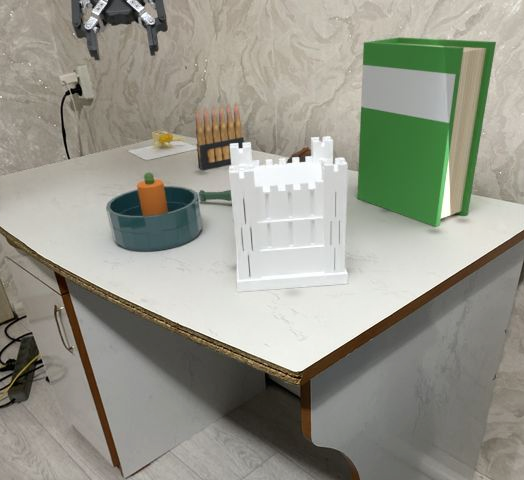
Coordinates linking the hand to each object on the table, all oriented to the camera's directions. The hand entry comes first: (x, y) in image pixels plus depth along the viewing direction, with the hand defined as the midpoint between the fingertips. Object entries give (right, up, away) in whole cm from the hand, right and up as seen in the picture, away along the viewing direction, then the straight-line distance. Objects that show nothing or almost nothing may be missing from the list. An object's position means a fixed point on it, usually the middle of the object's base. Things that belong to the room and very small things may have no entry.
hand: (124, 54), depth 82 cm
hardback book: (+46, -21, +8) cm, 51 cm away
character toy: (-3, +4, +50) cm, 50 cm away
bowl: (+4, -27, +5) cm, 27 cm away
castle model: (+25, -34, -8) cm, 42 cm away
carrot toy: (+4, -26, +4) cm, 27 cm away
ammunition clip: (+12, -5, +35) cm, 38 cm away
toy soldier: (+25, -17, +17) cm, 34 cm away
